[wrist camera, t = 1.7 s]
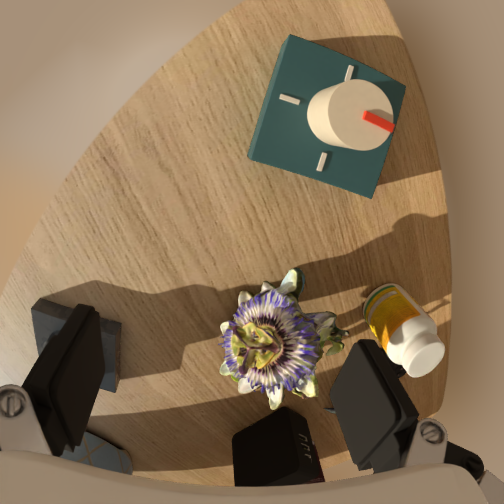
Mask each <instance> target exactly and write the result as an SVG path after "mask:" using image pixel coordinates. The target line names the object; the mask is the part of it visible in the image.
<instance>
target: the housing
mask: <svg viewBox="0 0 504 504" xmlns="http://www.w3.org/2000/svg"><path fill="white" fill-rule="evenodd" d="M73 310H74V309H71V308H68V307H65V306H62V305H59V304H56V303H53V302H50V301H47V300H44V299H41V298H40V299H39V300H38V301H37V302H36V303H35V304H34V306H33V307H32V308H31V313H32V320H33V327H34V333H35V339H36V344H37V349H38V354H39V356H40V354H41V353H42V351H43V349H44V348H45V346H46V345H47V343H48V341H49V340H50V338H51V337H52V336H53V335H58V333H59V332H60V330H61V329H62V327H63V325H64V324H65V322H66V321H67V319H68V318H69V316H70V315H71V313H72V312H73ZM100 327H101V337H102V346H103V353H104V361H105V374H104V377H103V380H102V383H101V385H100V389H103V390H107V391H110V392H114V393H116V390H117V387H118V384H119V381H120V339H121V323H118V322H115V321H111V320H107V319H104V318H100Z"/></svg>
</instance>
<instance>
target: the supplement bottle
mask: <svg viewBox="0 0 504 504" xmlns="http://www.w3.org/2000/svg"><path fill="white" fill-rule="evenodd" d="M363 316H364V319H365V321H366V322H367V324H368V325H369V327H370V329H371V330H372V332H373V333H374V335H375V336H376V338H377V339H378V341H379V343H380V344H381V346H382V347H383V349H384V351H385V352H386V354H387V355H388V357H389V358H390V360H391V361H393V362H394V363H396V364H399V365H402V366H403V368H404V369H405V370H406V372H407V373H408V374H409V375H410V376H411V377H421V376H424V375H426V374H428V373H429V372H431V371H432V370H433V369H434V368H435V367H436V366H437V365H438V364H439V363H440V361H441V360H442V358H443V356H444V353H445V346H444V344H443V343H442V341H441V340H440V339H439V337H438V336H437V327H436V324H435V322H434V321H433V319H432V318H431V317H430V316H429V315H428V314H427V313H426V312H425V311H424V309H423V308H422V307H421V306H420V305H419V304H418V303H417V302H416V301H415V300H414V299H413V298H412V297H411V296H410V295H409V294H408V292H407V291H406V290H405V289H403V288H402V287H401V286H400V285H397V284H394V283H389V284H385V285H382V286H380V287H378V288H376V289H375V290H374V291H373V292H372V293H371V294H370V295H369V296H368V297H367V299H366V301H365V303H364V307H363Z"/></svg>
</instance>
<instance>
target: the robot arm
mask: <svg viewBox="0 0 504 504" xmlns="http://www.w3.org/2000/svg"><path fill="white" fill-rule="evenodd" d="M104 374H105V361H104V353H103V346H102V337H101V327H100V317H99V312H97V311H95V309H94V307H93V306H88V305H84V304H78V305H77V306H76V307H75V309H74V310H73V312H72V313H71V315H70V316H69V318H68V319H67V321H66V322H65V324H64V325H63V327H62V329H61V330H60V332H59V333H58V335H53V336H52V337H51V338H50V340H49V341H48V343H47V345H46V346H45V348H44V349H43V351H42V353H41V354H40V356H39V357H38V359H37V361H36V362H35V364H34V366H33V367H32V369H31V371H30V372H29V374H28V376H27V378H26V379H25V381H24V383H23V385H22V387H20V386H18V385H13V384H9V385H4V386H1V387H0V504H504V483H503V482H502V481H501V480H499V479H498V478H497V477H496V476H494V475H493V474H492V473H491V472H489V471H488V470H486V471H484V465H483V462H482V460H481V458H480V457H479V456H478V455H476V454H474V453H472V452H470V451H468V450H466V449H464V448H462V447H460V446H457V445H455V444H453V443H451V442H449V441H447V440H448V434H447V431H446V429H445V428H444V426H443V425H442V424H441V423H440V422H438V421H437V420H435V419H431V418H424V419H421V420H420V421H418V419H417V417H418V416H419V413H418V411H417V410H416V408H415V406H414V404H413V403H412V401H411V399H410V397H409V396H408V394H407V392H406V391H405V389H404V387H403V386H402V384H401V382H400V381H399V379H398V377H397V376H396V374H395V372H394V371H393V369H392V367H391V366H390V364H389V362H388V361H387V359H386V358H385V356H384V354H383V353H382V351H381V349H380V348H379V346H378V345H377V343H376V342H375V340H372V339H360V340H358V342H357V343H355V344H354V345H353V346H352V349H351V351H350V353H349V355H348V357H347V359H346V361H345V363H344V365H343V367H342V369H341V371H340V373H339V375H338V377H337V378H336V380H335V382H334V384H333V386H332V388H331V390H330V399H331V402H332V404H333V407H334V410H335V413H336V415H337V418H338V421H339V424H340V427H341V429H342V432H343V435H344V438H345V441H346V444H347V446H348V449H349V452H350V455H351V458H352V461H353V463H354V464H357V466H358V469H359V471H360V470H366V469H371V468H373V470H374V473H373V474H371V475H367V476H361V477H356V478H350V479H343V480H337V481H330V482H322V483H313V484H302V485H289V486H269V487H230V486H210V485H197V484H186V483H177V482H169V481H162V480H156V479H150V478H144V477H138V476H133V475H128V474H123V473H119V472H114V471H110V470H105V469H101V468H97V467H93V466H90V465H86V464H82V463H79V462H75V461H71V460H67V459H64V458H61V457H60V456H61V455H63V452H64V450H66V451H69V452H72V453H74V449H75V446H78V447H79V446H80V445H81V442H82V439H83V436H84V432H85V429H86V426H87V423H88V420H89V417H90V414H91V411H92V408H93V405H94V402H95V399H96V397H97V394H98V391H99V388H100V385H101V383H102V380H103V377H104Z"/></svg>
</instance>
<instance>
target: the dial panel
mask: <svg viewBox="0 0 504 504" xmlns="http://www.w3.org/2000/svg"><path fill="white" fill-rule="evenodd" d="M353 79H360V80H365V81H368V82H371V83H373V84H374V85H376V86H377V87H379V88H380V89H381V90H382V91H383V92H384V93H385V95H386V96H387V98H388V100H389V102H390V104H391V107H392V110H393V124H395V126H396V123H397V119H398V116H399V112H400V108H401V105H402V101H403V97H404V94H405V90H406V86H405V85H403V84H401V83H399V82H398V81H396V80H394V79H392V78H390V77H388V76H387V75H385V74H383V73H381V72H379V71H377V70H375V69H373V68H371V67H369V66H367V65H365V64H363V63H361V62H359V61H356V60H354V59H352V58H350V57H348V56H345V55H343V54H341V53H338V52H336V51H334V50H331V49H329V48H326V47H324V46H321V45H319V44H316V43H313V42H311V41H308V40H305V39H303V38H300V37H297V36H294V35H291V34H290V35H289V36H288V37H287V39H286V40H285V41H284V43H283V44H282V47H281V50H280V53H279V56H278V59H277V62H276V65H275V68H274V71H273V74H272V77H271V80H270V83H269V87H268V90H267V93H266V96H265V99H264V102H263V106H262V109H261V112H260V115H259V118H258V122H257V125H256V128H255V132H254V135H253V138H252V141H251V145H250V148H249V152H248V155H247V156H248V157H249V159H250V160H253V161H256V162H260V163H263V164H267V165H270V166H274V167H277V168H280V169H284V170H287V171H290V172H294V173H297V174H300V175H303V176H306V177H309V178H312V179H315V180H319V181H322V182H325V183H327V184H330V185H333V186H336V187H339V188H342V189H345V190H348V191H350V192H353V193H356V194H359V195H362V196H364V197H367V198H370V199H372V197H373V194H374V191H375V188H376V185H377V183H378V180H379V177H380V174H381V171H382V168H383V165H384V162H385V159H386V156H387V152H388V149H389V146H390V143H391V140H392V136H393V133H394V130H395V126H394V130H393V132H390V134H389V136H388V138H387V139H386V140H385V142H384V143H382V144H381V145H380V146H378V147H377V148H374V149H371V150H365V151H362V150H355V149H350V148H345V147H339V146H333V145H329V144H327V143H324V142H323V141H321V140H320V139H318V138H317V137H316V136H315V134H314V133H313V132H312V130H311V128H310V126H309V123H308V118H307V111H308V106H309V103H310V101H311V99H312V98H313V97H314V96H315V95H316V94H317V93H318V92H319V91H321V90H323V89H326V88H329V87H331V86H334V85H337V84H340V83H343V82H345V81H348V80H353Z"/></svg>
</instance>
